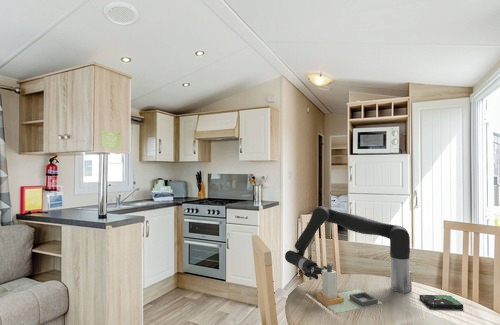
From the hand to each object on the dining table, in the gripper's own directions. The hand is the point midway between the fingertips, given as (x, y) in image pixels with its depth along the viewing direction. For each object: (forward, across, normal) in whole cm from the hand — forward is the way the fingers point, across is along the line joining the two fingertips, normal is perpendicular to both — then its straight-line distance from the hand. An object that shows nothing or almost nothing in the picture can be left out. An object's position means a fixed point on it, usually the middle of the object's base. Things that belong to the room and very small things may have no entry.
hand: (324, 276), depth 149 cm
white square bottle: (+4, 0, +10) cm, 11 cm away
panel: (+8, +8, +11) cm, 16 cm away
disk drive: (+25, +47, +12) cm, 55 cm away
